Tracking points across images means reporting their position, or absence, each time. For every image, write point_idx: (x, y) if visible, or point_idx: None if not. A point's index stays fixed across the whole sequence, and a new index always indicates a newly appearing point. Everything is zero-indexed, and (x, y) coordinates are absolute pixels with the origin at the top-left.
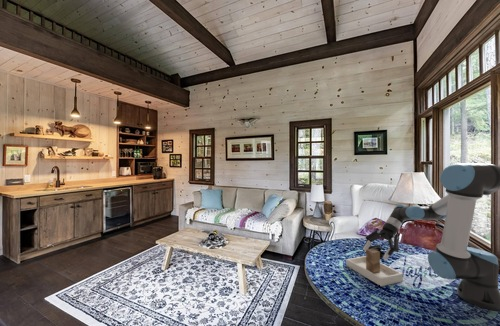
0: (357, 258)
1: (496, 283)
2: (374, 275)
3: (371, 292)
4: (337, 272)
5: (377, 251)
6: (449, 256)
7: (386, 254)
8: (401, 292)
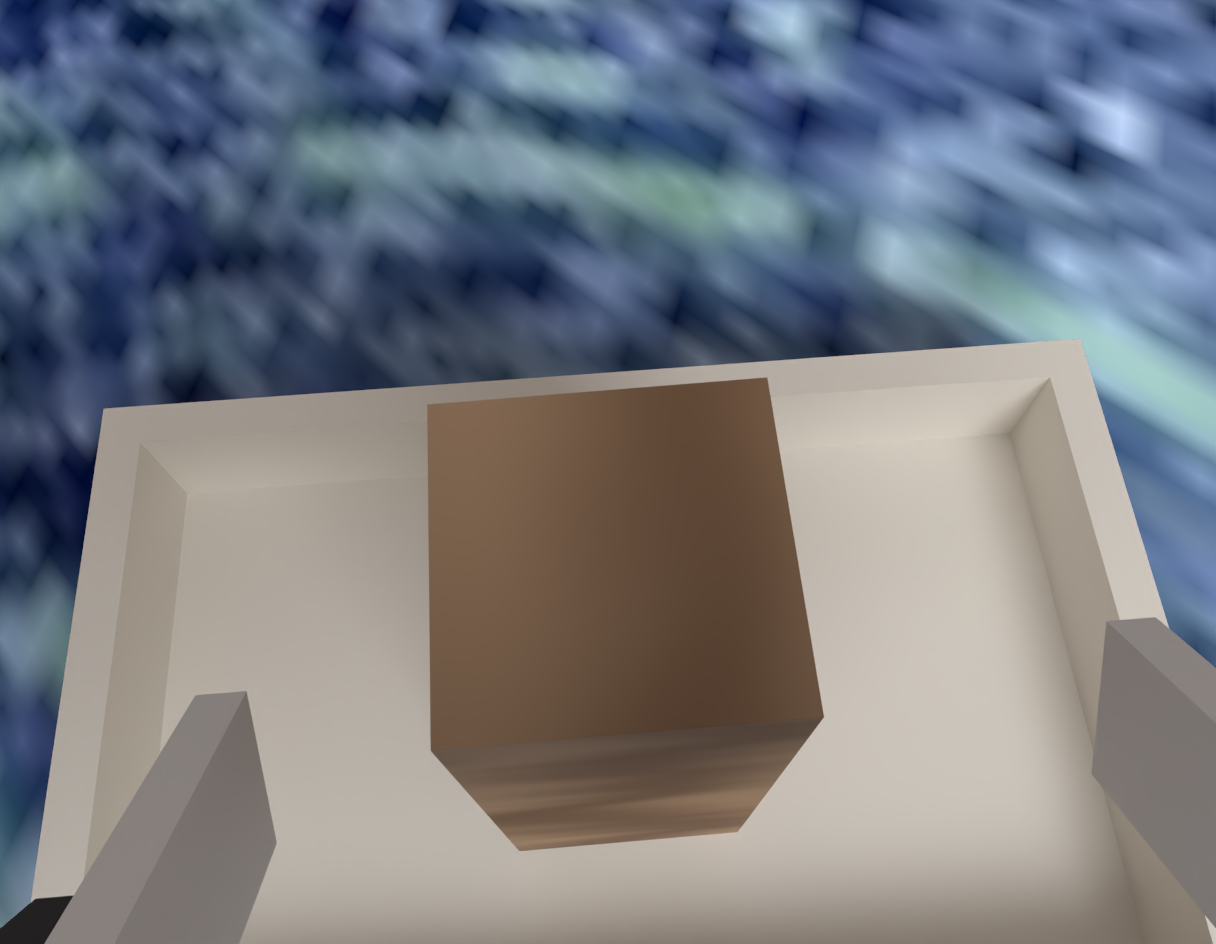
0: None
1: None
2: (267, 403)
3: (124, 220)
4: (789, 121)
5: (479, 664)
6: None
7: (131, 814)
8: None
